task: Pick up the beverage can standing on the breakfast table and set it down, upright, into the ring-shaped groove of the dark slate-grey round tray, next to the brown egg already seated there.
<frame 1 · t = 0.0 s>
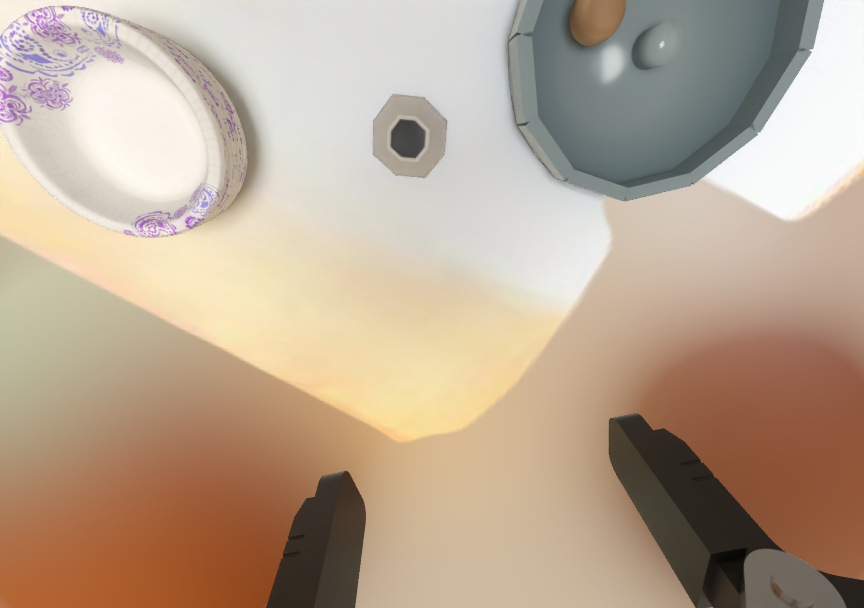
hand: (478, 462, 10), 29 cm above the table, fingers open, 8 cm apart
flask: (409, 138, 33), on the table
tray: (642, 51, 30), on the table
paper bowls: (178, 136, 32), on the table
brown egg: (585, 21, 29), point 1 cm above the table, touching tray
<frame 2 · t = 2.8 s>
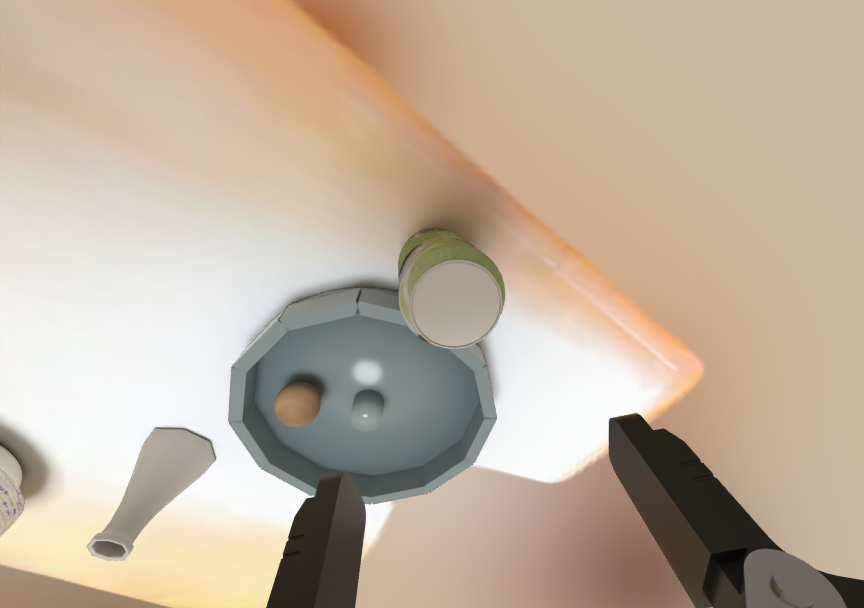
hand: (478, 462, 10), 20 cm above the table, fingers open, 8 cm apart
beverage can: (436, 252, 29), on the table
flask: (182, 448, 37), on the table
tray: (370, 394, 35), on the table
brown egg: (304, 389, 33), point 1 cm above the table, touching tray
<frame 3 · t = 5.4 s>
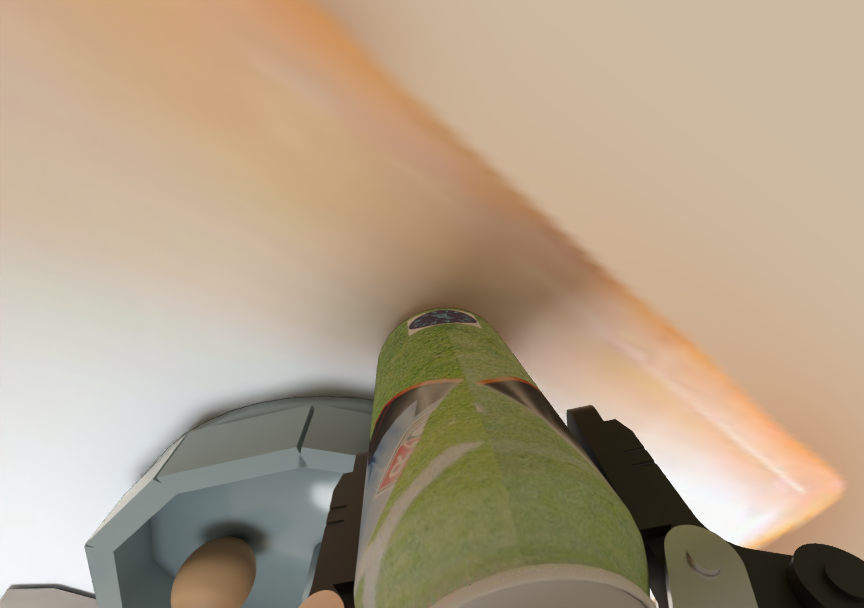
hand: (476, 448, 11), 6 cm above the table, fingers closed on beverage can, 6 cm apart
beverage can: (445, 341, 17), on the table, touching gripper
flask: (62, 605, 25), on the table
tray: (340, 536, 23), on the table
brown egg: (232, 541, 21), point 1 cm above the table, touching tray
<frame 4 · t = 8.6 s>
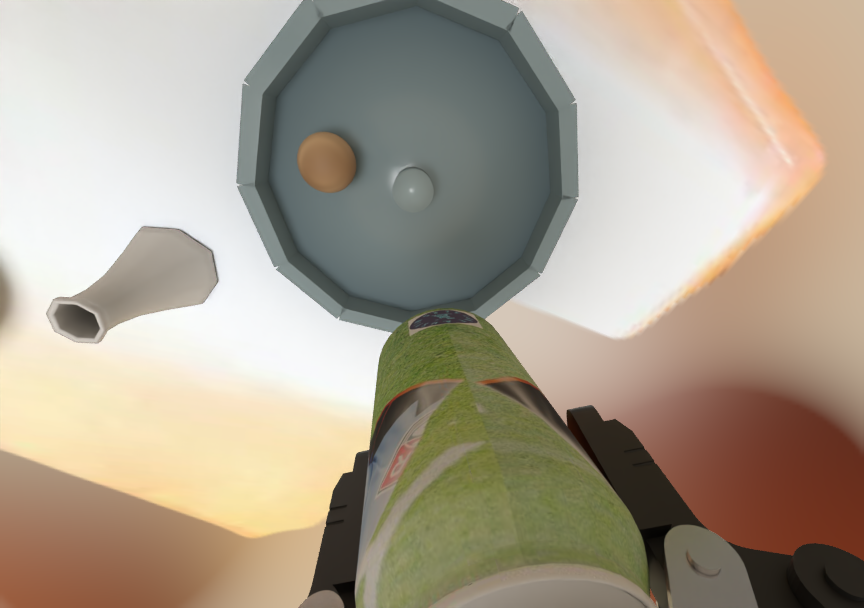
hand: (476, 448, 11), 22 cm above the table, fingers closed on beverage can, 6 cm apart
beverage can: (446, 341, 17), point 15 cm above the table, touching gripper
flask: (177, 265, 30), on the table
tray: (413, 185, 28), on the table
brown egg: (333, 161, 26), point 1 cm above the table, touching tray
when the fingers open (8 cm above the table, at t = 12.0 s): beverage can stays where it is, resting on tray.
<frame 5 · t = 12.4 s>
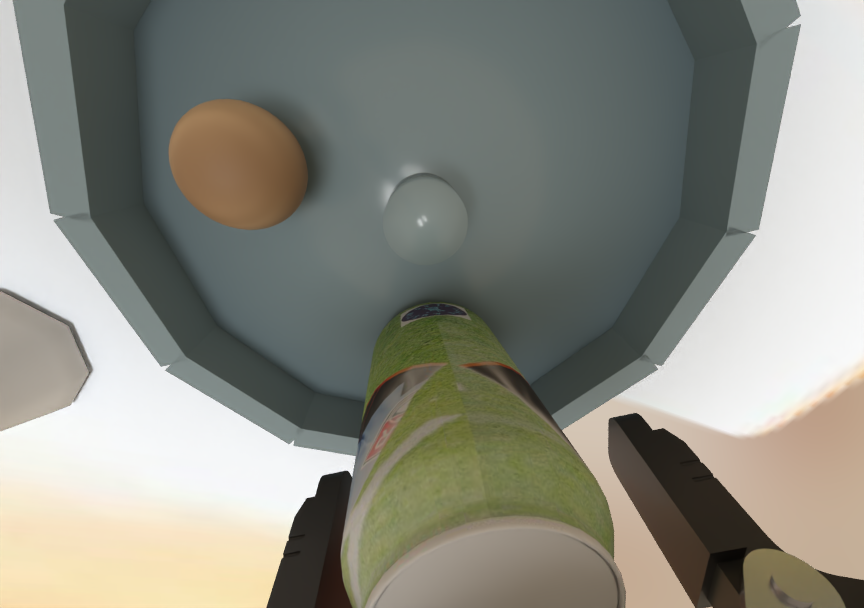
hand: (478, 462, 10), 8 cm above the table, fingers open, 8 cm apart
beverage can: (438, 335, 17), point 1 cm above the table, touching tray
flask: (17, 346, 18), on the table
tray: (423, 206, 15), on the table
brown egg: (267, 164, 13), point 1 cm above the table, touching tray
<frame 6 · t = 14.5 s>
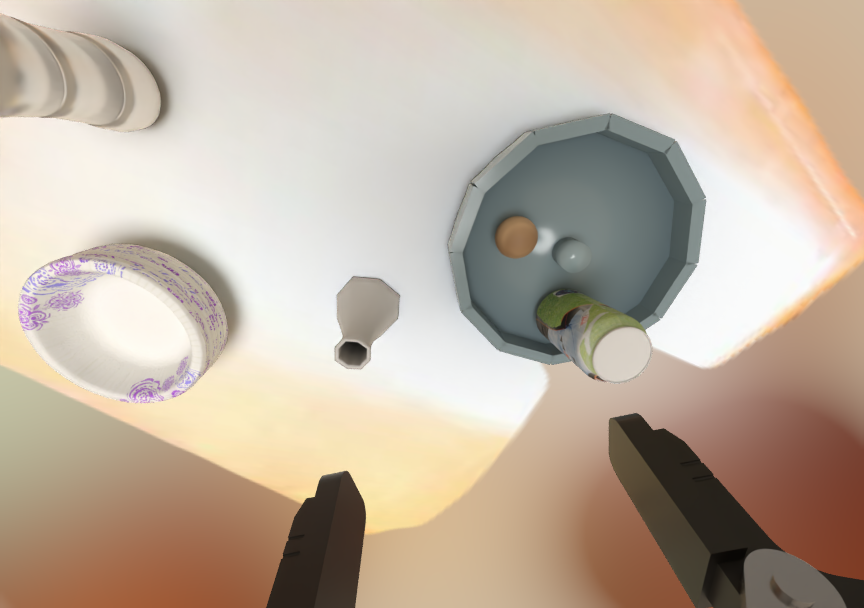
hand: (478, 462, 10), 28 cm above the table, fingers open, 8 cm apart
beverage can: (561, 305, 38), point 1 cm above the table, touching tray
flask: (368, 305, 39), on the table
tray: (562, 248, 36), on the table
paper bowls: (172, 302, 38), on the table
plastic bottle: (134, 91, 29), on the table
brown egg: (510, 232, 34), point 1 cm above the table, touching tray
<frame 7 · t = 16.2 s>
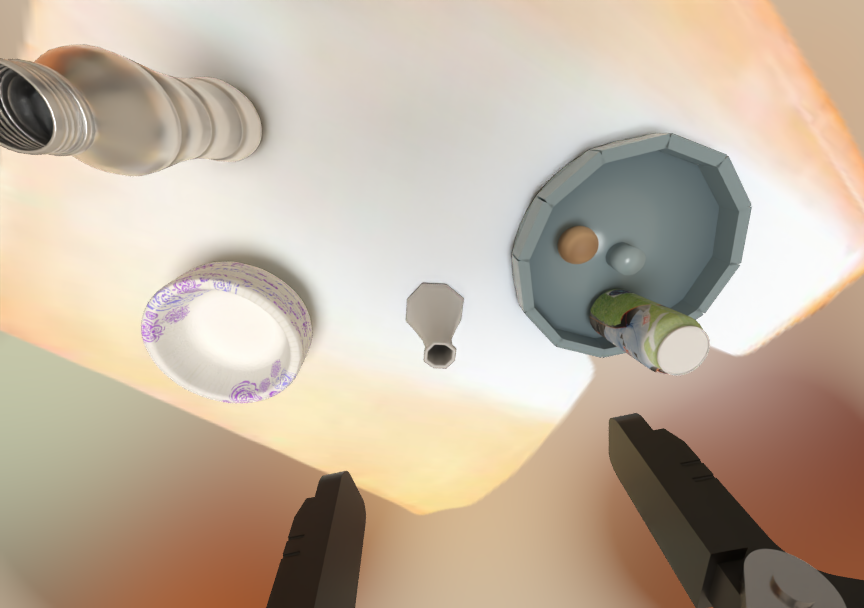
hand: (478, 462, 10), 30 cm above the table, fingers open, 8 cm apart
beverage can: (611, 303, 42), point 1 cm above the table, touching tray
flask: (434, 308, 42), on the table
tray: (614, 252, 40), on the table
paper bowls: (255, 311, 41), on the table
plastic bottle: (234, 122, 32), on the table
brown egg: (569, 239, 38), point 1 cm above the table, touching tray
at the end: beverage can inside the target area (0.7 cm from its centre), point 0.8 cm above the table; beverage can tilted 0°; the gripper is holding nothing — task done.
